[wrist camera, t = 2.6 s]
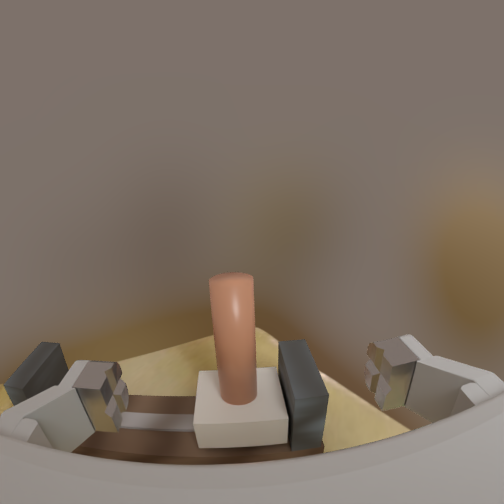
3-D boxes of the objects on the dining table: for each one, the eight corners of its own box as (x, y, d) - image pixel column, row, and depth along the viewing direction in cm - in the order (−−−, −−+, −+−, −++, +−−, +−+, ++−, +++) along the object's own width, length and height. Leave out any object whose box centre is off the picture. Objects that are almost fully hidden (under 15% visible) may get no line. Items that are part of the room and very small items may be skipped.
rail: (35, 447, 20) (1, 384, 18) (62, 400, 28) (39, 341, 26) (321, 460, 22) (332, 394, 20) (303, 403, 30) (308, 338, 28)
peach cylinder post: (198, 448, 21) (171, 302, 18) (203, 395, 28) (186, 266, 25) (287, 443, 22) (292, 295, 18) (275, 390, 28) (275, 261, 25)
